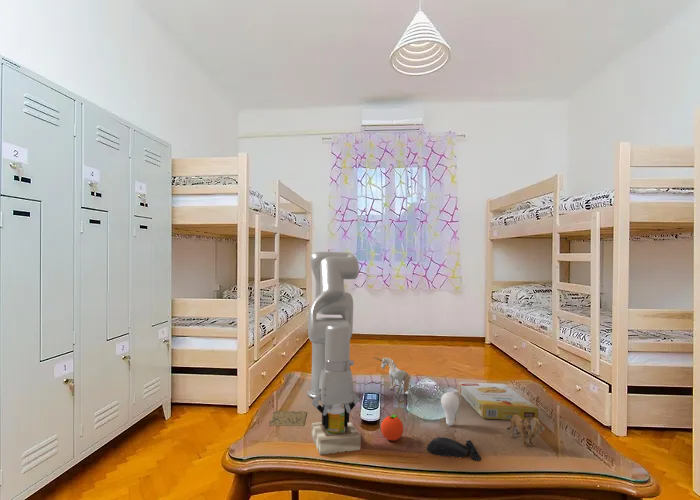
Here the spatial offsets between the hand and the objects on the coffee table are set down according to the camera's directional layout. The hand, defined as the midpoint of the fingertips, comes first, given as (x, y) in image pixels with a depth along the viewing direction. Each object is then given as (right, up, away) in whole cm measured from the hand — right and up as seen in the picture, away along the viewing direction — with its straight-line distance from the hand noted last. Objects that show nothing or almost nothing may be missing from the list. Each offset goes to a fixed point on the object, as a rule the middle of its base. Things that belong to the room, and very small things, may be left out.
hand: (335, 425), depth 111 cm
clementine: (+18, -6, +3) cm, 19 cm away
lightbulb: (+38, -7, +14) cm, 41 cm away
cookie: (-17, -6, +16) cm, 24 cm away
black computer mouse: (+34, -6, -4) cm, 35 cm away
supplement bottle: (0, -2, 0) cm, 2 cm away
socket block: (0, -5, 0) cm, 5 cm away
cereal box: (+61, -9, +34) cm, 71 cm away
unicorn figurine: (+22, -8, +46) cm, 52 cm away
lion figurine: (+59, -7, +4) cm, 59 cm away
